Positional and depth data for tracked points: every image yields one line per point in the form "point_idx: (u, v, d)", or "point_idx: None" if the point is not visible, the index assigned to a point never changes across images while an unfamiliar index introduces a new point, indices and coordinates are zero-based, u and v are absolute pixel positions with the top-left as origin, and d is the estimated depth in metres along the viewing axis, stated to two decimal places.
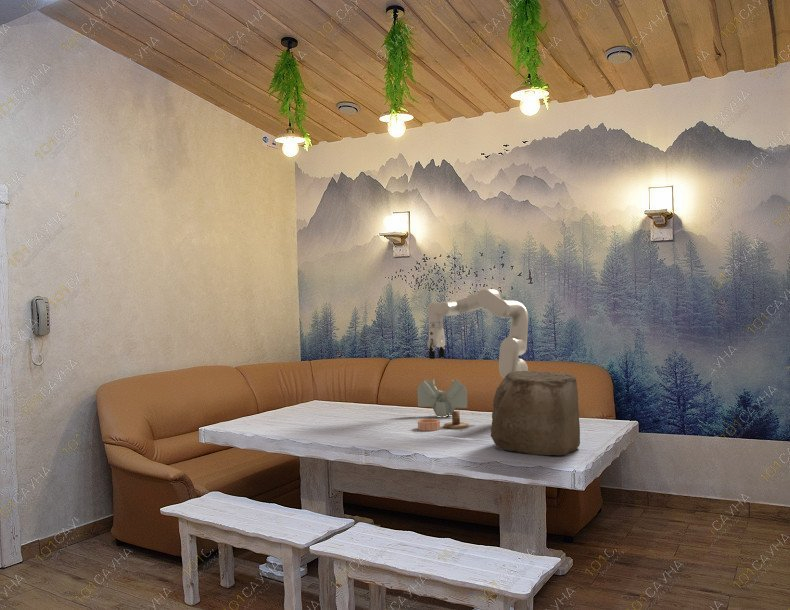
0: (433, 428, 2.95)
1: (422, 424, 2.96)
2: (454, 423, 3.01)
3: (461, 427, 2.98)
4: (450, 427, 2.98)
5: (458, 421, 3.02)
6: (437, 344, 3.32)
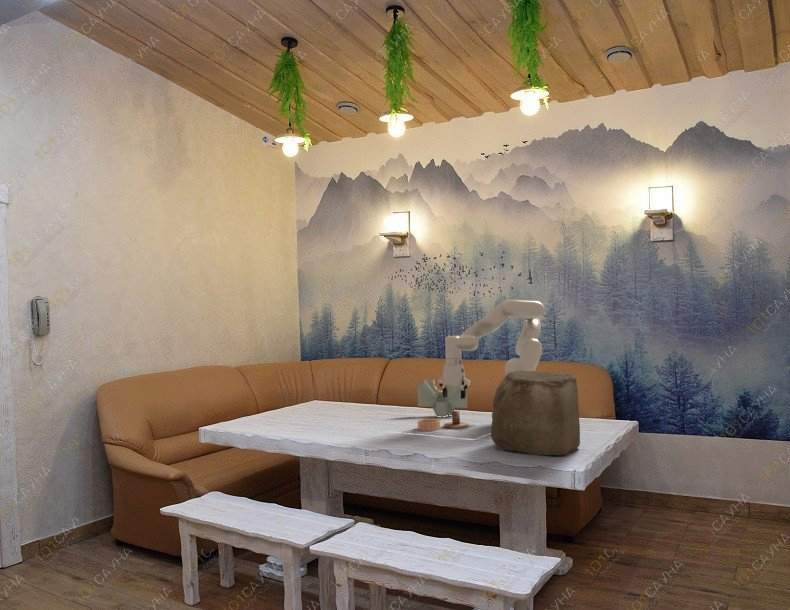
0: (433, 428, 2.95)
1: (422, 424, 2.96)
2: (454, 423, 3.01)
3: (461, 427, 2.98)
4: (450, 427, 2.98)
5: (458, 421, 3.02)
6: None
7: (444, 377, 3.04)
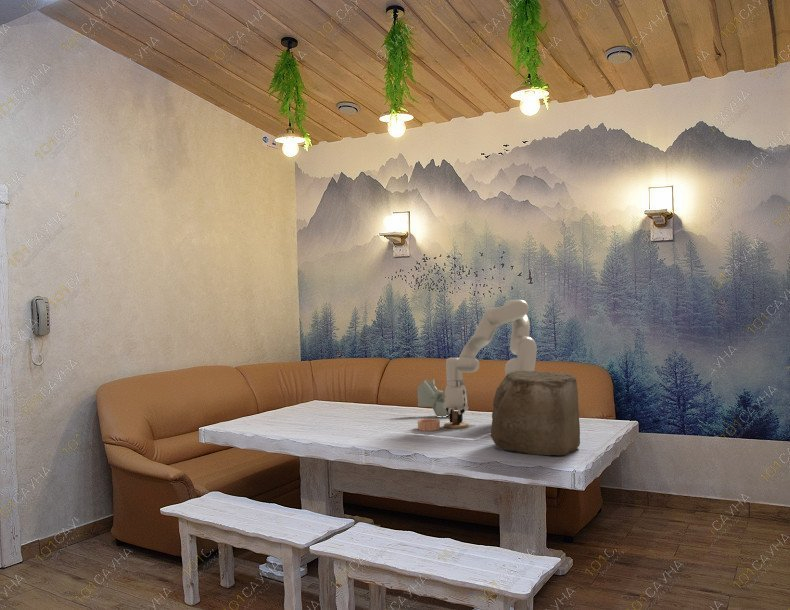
0: (433, 428, 2.95)
1: (422, 424, 2.96)
2: (454, 423, 3.01)
3: (461, 427, 2.98)
4: (450, 427, 2.98)
5: None
6: None
7: (445, 399, 3.03)
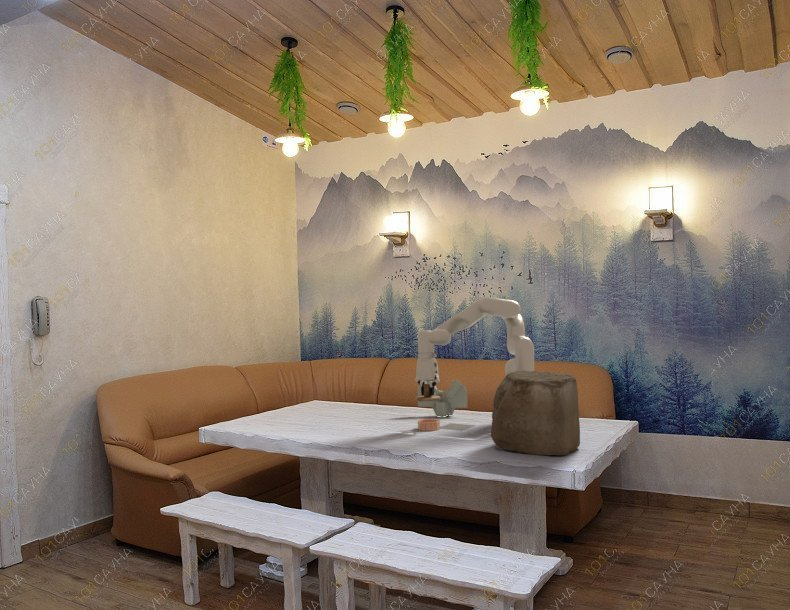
0: (433, 428, 2.95)
1: (422, 424, 2.96)
2: (426, 396, 2.99)
3: (432, 399, 2.95)
4: (421, 399, 2.95)
5: None
6: None
7: (417, 372, 3.01)
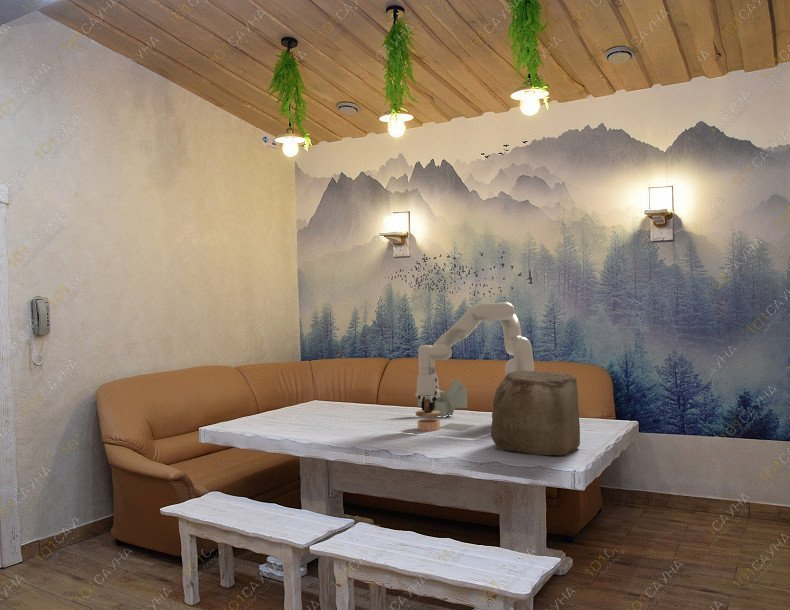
0: (433, 428, 2.95)
1: (422, 424, 2.96)
2: (426, 411, 2.98)
3: (433, 415, 2.95)
4: (421, 415, 2.95)
5: None
6: None
7: (418, 387, 3.01)
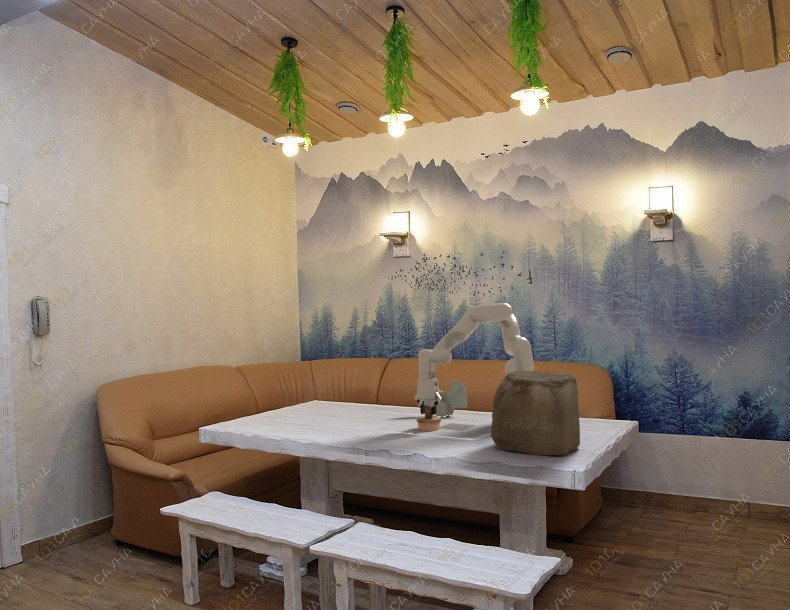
0: (433, 428, 2.95)
1: (422, 424, 2.96)
2: (427, 417, 2.98)
3: (433, 421, 2.95)
4: (422, 421, 2.95)
5: (431, 415, 2.99)
6: None
7: (418, 391, 3.01)
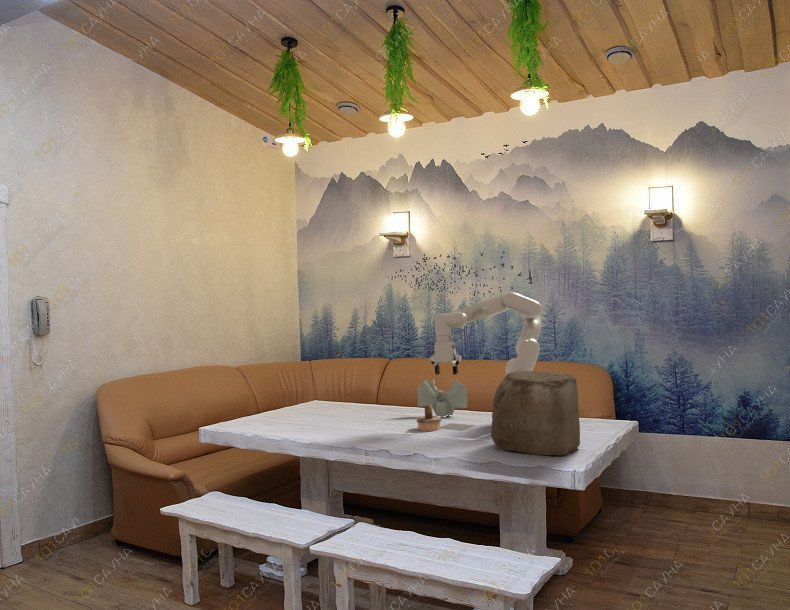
0: (433, 428, 2.95)
1: (422, 424, 2.96)
2: (427, 417, 2.98)
3: (433, 421, 2.95)
4: (422, 421, 2.95)
5: (431, 415, 2.99)
6: None
7: (435, 354, 3.08)
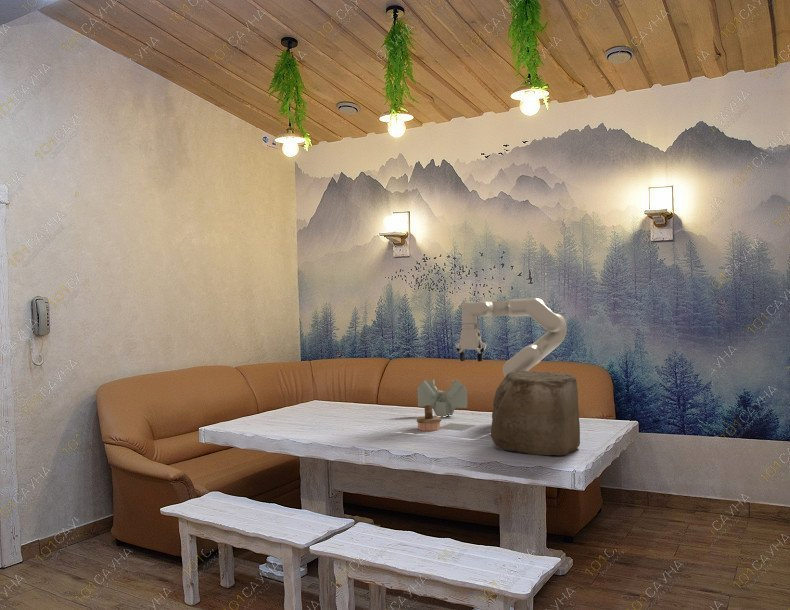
0: (433, 428, 2.95)
1: (422, 424, 2.96)
2: (427, 417, 2.98)
3: (433, 421, 2.95)
4: (422, 421, 2.95)
5: (431, 415, 2.99)
6: None
7: (461, 342, 3.20)
